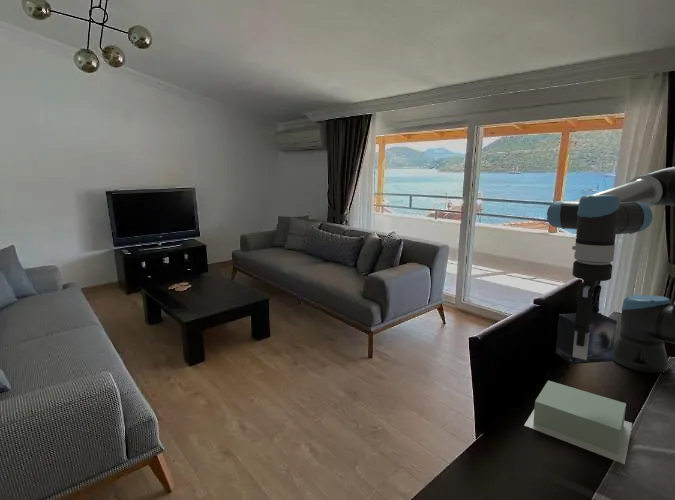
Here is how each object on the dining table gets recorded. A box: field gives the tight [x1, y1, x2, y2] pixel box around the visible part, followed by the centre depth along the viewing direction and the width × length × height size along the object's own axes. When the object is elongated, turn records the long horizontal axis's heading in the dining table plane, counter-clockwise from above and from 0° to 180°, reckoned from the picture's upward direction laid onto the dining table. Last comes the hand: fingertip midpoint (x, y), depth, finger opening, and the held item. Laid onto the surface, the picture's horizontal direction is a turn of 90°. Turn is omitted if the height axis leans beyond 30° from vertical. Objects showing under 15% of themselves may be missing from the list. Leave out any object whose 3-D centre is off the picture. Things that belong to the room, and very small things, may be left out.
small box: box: [554, 312, 618, 365], centre depth 88 cm, size 11×6×10 cm, turn 97°
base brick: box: [533, 380, 627, 454], centre depth 91 cm, size 13×17×6 cm
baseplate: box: [523, 409, 633, 465], centre depth 91 cm, size 18×20×1 cm
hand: (584, 349), depth 89 cm, fingers closed on small box, 11 cm apart
